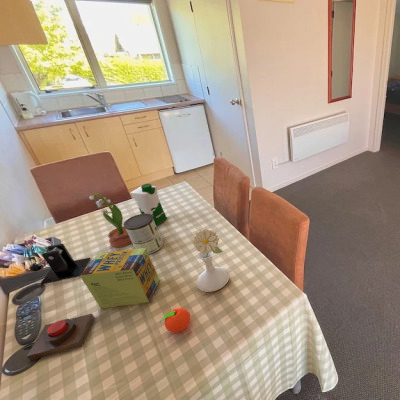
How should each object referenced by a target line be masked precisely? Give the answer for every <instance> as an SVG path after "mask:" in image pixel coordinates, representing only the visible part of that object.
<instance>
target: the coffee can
mask: <svg viewBox="0 0 400 400" xmlns="http://www.w3.org/2000/svg"><path fill="white" fill-rule="evenodd" d="M122 226H124V227H125V229H126V231H127V233H128V235H129V237H130V239H131V241H132V243H131V244H132V245H133V247H134V249H141V248H146V250H147V252H148V254H149V255H150V254H154V253H155V252H157V251H158V250H160V249H162V248H163V245H164V241H163V239H162V237H161V235H160V232H159V229H158V226H156V225H155V222H154V220H153V216H152V215H151V214H141V213H139V214H135V215H132V216H130V217H128V218H127V219H126V220H125V221H124V222H123V223H122Z"/></svg>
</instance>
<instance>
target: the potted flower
mask: <svg viewBox="0 0 400 400" xmlns="http://www.w3.org/2000/svg"><path fill="white" fill-rule="evenodd" d="M96 196H98V200H97V197H96ZM100 198H101V199H100ZM91 200H92V201H93V200H95V204H96V205H97V208H98V209H101V208H102V211H101V213H102V216H103V217H104V219H105V220H106V221H107V222H108V223H109V224H111V225H112V226H113V227H114V229H111V231H110V232H109V233H107V237H108V240H109V245H110V246H111V247H113V248H122V247H127V246H129V245H131V244H133V243H132V241H131V239H130V237H129V235H128V233H127V231H126V229H125V227H124V225H123V221H124V218H123V213H122V210H121V209H120V207H118V206H117V205H116V204H115V203H113V204H111V203H112V201H111V199H110V198H109V199H108V198H107V197H104V196H103V195H102V194H101V193H100V192H99V191H98V192H97V193H95V194H93V195H90V196H89V201H91ZM104 203H106V204H104ZM103 204H104V205H103ZM110 204H111V205H110ZM104 207H108V208H109V210H110V211H108V210H107V209H104ZM109 214H111V216H110V215H109Z"/></svg>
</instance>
